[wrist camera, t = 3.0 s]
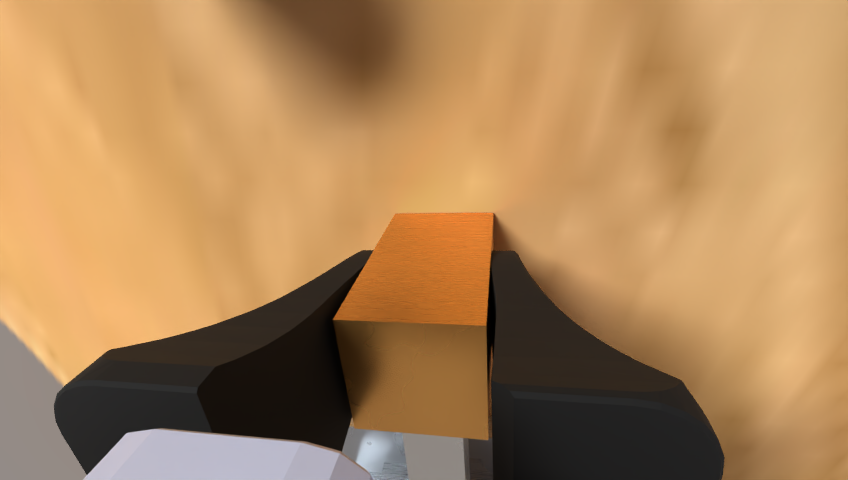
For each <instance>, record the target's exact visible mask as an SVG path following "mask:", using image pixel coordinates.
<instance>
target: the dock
mask: <svg viewBox="0 0 848 480" xmlns="http://www.w3.org/2000/svg"><path fill="white" fill-rule="evenodd" d="M468 441H469V463H470V480H493V451H492V417H490V416H489V436H488V440H481V439H469V438H468ZM342 453H343V454H345V455H346V456H348V457H349V458H351V459H352V460H353V461H355V462H356V463H358V464H359V465H360V466H362V467H363V468H365V469H366V470H367V471H368V472H369V473H370V475H371V476H372V478H373V480H409V479H408V472H407V464H406V457H405V450H404V443H403V435H402V433H400V432H389V431H377V430H366V429H355V428H354V423H353V418H352V419H351V423H350V426H349V429H348V433H347V436H346V439H345V443H344V446H343V450H342Z"/></svg>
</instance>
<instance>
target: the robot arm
mask: <svg viewBox="0 0 848 480" xmlns="http://www.w3.org/2000/svg"><path fill="white" fill-rule="evenodd" d="M373 251H374V250H363V251H360V252H358V253H356V254H354V255H353V256H351V257H349V258H348V259H346V260H344V261H343V262H341V263H340V264H338V265H336V266H335V267H333V268H332V269H330V270H328V271H327V272H325V273H323V274H322V275H320V276H319V277H317V278H315V279H314V280H312V281H310V282H308V283H306V284H305V285H303V286H301V287H299V288H298V289H296V290H294V291H292V292H290V293H289V294H287V295H285V296H283V297H281V298H279V299H277V300H275V301H273V302H270V303H268V304H266V305H264V306H261V307H259V308H257V309H255V310H252V311H250V312H247V313H244V314H242V315H239V316H236V317H234V318H231V319H228V320H225V321H223V322H220V323H217V324H214V325H211V326H208V327H205V328H201V329H198V330H195V331H191V332H187V333H184V334H180V335H176V336H173V337H168V338H164V339H160V340H156V341H151V342H146V343H141V344H136V345H132V346H127V347H122V348H117V349H111V350H109V351H107V352H106V353H105V354H103V355H102V356H101V357H100V358H98V359H97V360H96V361H95V362H94V363H92V364H91V365H90V366H89V367H87V368H86V369H85V370H84V371H82V372H81V373H80V374H79V375H77V376H76V377H75V378H74V379H73V380H71V381H70V382H69V383H68V384H66V385H65V386H64V387H63V388H62V390H60V391H59V393H57V396H56V400H55V403H54V412H55V419H56V423H57V425H58V427H59V429H60V431H61V433H62V435H63V437H64V439H65V440H66V442H67V443H68V445H69V446H70V448H71V450H72V451H73V453H74V455H75V456H76V458H77V459H78V461H79V463H80V464H81V466H82V468H83V469H84V471H85V473H86V474H87V476H86V477H85V478H84V479H83V480H373V478H372V476H371V475H370V473H369V472H368V471H367V470H366V469H365V468H363V467H362V466H360V465H359V464H358V463H356V462H355V461H353V460H352V459H351V458H349V457H348V456H346V455H345V454H343V453H342V450H343V446H344V443H345V439H346V436H347V433H348V429H349V426H350V423H351V419H352V413H351V408H350V403H349V398H348V393H347V388H346V383H345V378H344V373H343V368H342V364H341V359H340V354H339V349H338V344H337V339H336V334H335V329H334V324H333V318H334V317H335V315H336V313H337V312H338V310H339V308H340V306H341V305H342V303H343V301H344V300H345V298H346V296H347V295H348V293H349V291H350V290H351V288H352V286H353V284H354V283H355V281H356V279H357V278H358V276H359V274H360V273H361V271H362V269H363V268H364V266H365V264H366V263H367V261H368V259H369V257H370V256H371V254H372V252H373ZM491 328H492V353H493V368H492V378H491V398H492V451H493V480H721V479H722V475H723V468H724V458H725V457H724V454H723V452H722V449H721V446H720V443H719V440H718V438H717V436H716V434H715V432H714V430H713V428H712V426H711V425H710V423H709V421H708V419H707V417H706V416H705V414H704V413H703V411H702V409H701V408H700V406H699V405H698V403H697V402H696V400H695V399H694V398H693V396H692V395H691V393H690V392H689V391H688V389H687V388H686V386H685V385H684V383H683V382H682V380H679V379H677V378H675V377H673V376H670V375H668V374H666V373H663V372H661V371H659V370H656V369H654V368H652V367H649V366H647V365H645V364H643V363H640V362H638V361H636V360H634V359H632V358H630V357H629V356H627V355H625V354H623V353H621V352H619V351H617V350H615V349H614V348H612V347H610V346H609V345H607V344H605V343H604V342H602V341H600V340H599V339H597V338H596V337H594V336H593V335H591V334H590V333H588V332H587V331H585V330H584V329H583V328H581V327H580V326H579V325H577V324H576V323H575V322H573V321H572V320H571V319H570V318H569V317H567V316H566V315H565V314H564V313H563V312H562V311H561V310H559V309H558V308H557V307H556V306H555V305H554V303H553V302H552V301H551V300H550V299H549V298H548V297H547V296H546V295H545V294H544V292H543V291H542V290H541V289H540V288H539V286H538V285H537V284H536V282H535V281H534V280H533V279H532V277H531V276H530V274H529V273H528V271H527V270H526V268H525V267H524V265H523V263H522V262H521V260H520V258H519V255H518V254H517V253H516V252H515V251H492V254H491Z"/></svg>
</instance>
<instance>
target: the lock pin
mask: <svg viewBox="0 0 848 480" xmlns="http://www.w3.org/2000/svg"><path fill="white" fill-rule="evenodd" d="M492 251H494V230H493V213H430V214H395V215H394V217H393V219H392V220H391V222H390V224H389V225H388V227H387V229H386V230H385V232H384V234H383V235H382V237H381V239H380V241H379V242H378V244H377V246H376V247H375V249H374V251H373V252H372V254H371V256H370V257H369V259H368V261H367V263H366V264H365V266H364V268H363V269H362V271H361V273H360V274H359V276H358V278H357V279H356V281H355V283H354V284H353V286H352V288H351V290H350V291H349V293H348V295H347V296H346V298H345V300H344V301H343V303H342V305H341V306H340V308H339V310H338V312H337V313H336V315H335V317H334V318H333V324H334V329H335V334H336V339H337V344H338V349H339V354H340V359H341V364H342V368H343V373H344V378H345V383H346V388H347V393H348V398H349V403H350V408H351V413H352V418H353V423H354V428H355V429H366V430H377V431H389V432H400V433H402V435H403V443H404V450H405V457H406V464H407V472H408V479H409V480H470V463H469V441H468V438H469V439H481V440H488V436H489V412H490V387H491V362H492V328H491V254H492Z"/></svg>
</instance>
